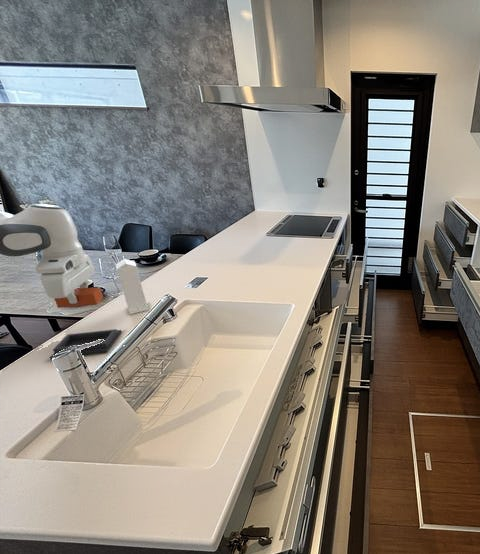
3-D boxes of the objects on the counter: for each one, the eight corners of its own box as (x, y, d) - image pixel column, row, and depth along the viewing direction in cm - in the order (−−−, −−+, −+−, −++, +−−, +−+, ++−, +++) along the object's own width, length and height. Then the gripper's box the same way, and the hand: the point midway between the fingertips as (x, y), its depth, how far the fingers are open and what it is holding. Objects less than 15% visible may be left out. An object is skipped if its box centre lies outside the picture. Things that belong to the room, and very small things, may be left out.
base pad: (50, 360, 92) (47, 353, 91) (72, 337, 102) (69, 331, 102) (106, 352, 96) (104, 346, 95) (121, 332, 107) (119, 326, 106)
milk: (130, 314, 118) (113, 261, 109) (128, 308, 122) (112, 256, 113) (148, 309, 121) (134, 258, 112) (147, 303, 126) (132, 253, 117)
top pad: (57, 307, 95) (53, 296, 93) (66, 300, 99) (62, 289, 98) (96, 304, 98) (93, 293, 97) (103, 297, 103) (100, 287, 101)
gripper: (70, 247, 101) (83, 285, 106) (30, 270, 83) (48, 314, 88) (94, 247, 103) (105, 284, 108) (60, 269, 85) (75, 312, 90)
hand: (79, 298), depth 98 cm, fingers closed on top pad, 5 cm apart
